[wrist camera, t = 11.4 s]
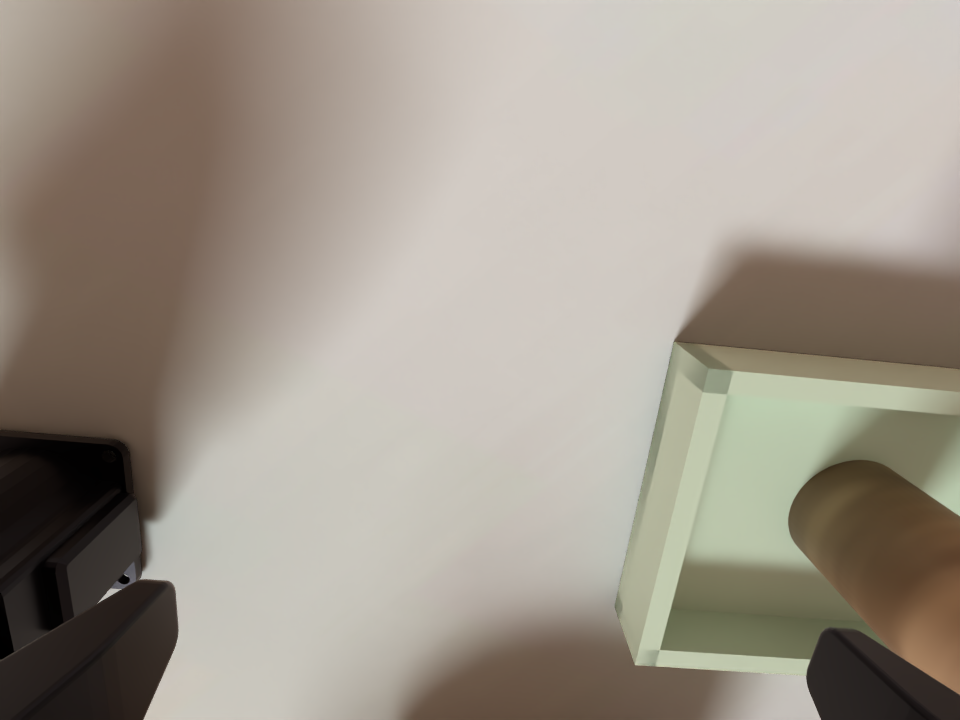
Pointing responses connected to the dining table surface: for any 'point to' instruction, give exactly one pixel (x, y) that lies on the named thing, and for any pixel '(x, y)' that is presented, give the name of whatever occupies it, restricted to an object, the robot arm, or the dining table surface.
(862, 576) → the brown coffee tumbler
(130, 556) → the robot arm
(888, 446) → the tray
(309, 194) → the dining table surface
